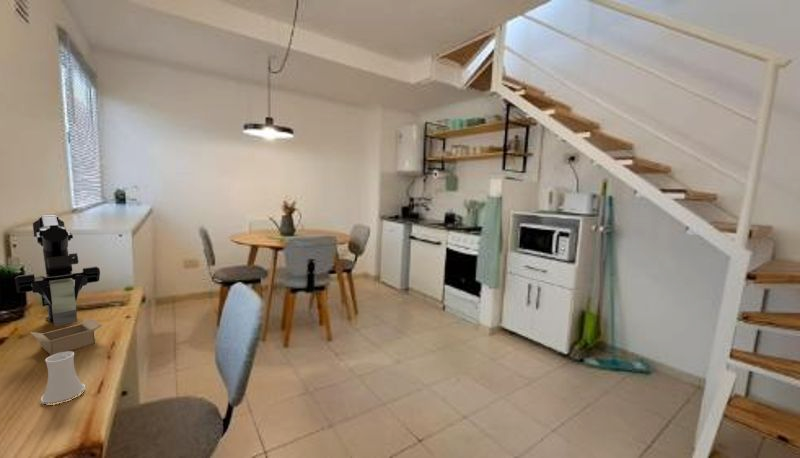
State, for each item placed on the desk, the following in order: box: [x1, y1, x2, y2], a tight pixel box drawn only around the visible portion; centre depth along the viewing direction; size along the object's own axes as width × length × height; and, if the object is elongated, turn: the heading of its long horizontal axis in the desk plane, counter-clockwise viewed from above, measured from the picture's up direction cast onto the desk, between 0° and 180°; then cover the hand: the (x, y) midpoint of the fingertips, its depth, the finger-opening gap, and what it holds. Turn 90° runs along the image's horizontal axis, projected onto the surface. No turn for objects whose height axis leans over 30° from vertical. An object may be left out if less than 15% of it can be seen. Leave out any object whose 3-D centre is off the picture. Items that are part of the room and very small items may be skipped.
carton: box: [29, 317, 102, 356], centre depth 105 cm, size 12×14×5 cm
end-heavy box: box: [49, 278, 78, 327], centre depth 106 cm, size 5×5×13 cm
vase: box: [40, 351, 86, 405], centre depth 81 cm, size 8×8×10 cm
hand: (63, 302), depth 105 cm, fingers closed on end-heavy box, 5 cm apart
